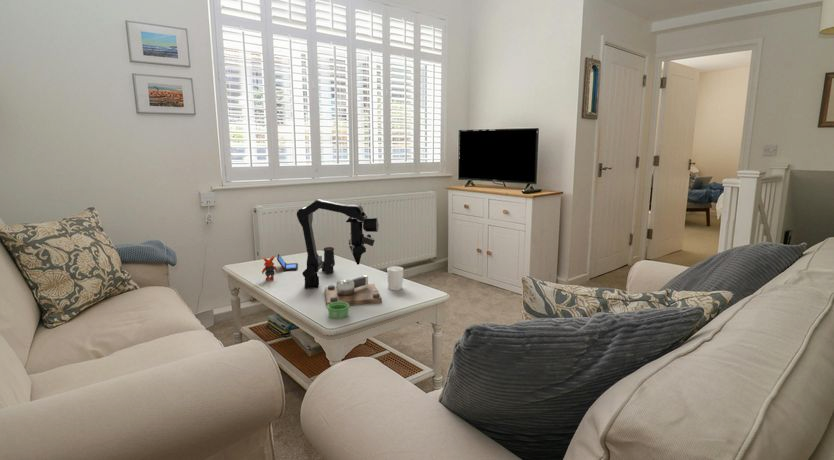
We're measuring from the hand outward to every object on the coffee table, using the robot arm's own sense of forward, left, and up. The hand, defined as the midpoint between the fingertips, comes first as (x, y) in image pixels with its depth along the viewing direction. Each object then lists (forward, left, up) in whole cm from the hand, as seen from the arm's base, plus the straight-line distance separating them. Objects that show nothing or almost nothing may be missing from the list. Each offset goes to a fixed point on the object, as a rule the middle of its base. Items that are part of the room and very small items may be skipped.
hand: (357, 262), depth 219 cm
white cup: (+18, -4, -13) cm, 23 cm away
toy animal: (-43, +25, -13) cm, 51 cm away
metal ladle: (-3, -9, -10) cm, 15 cm away
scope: (-12, +30, -13) cm, 35 cm away
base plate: (-4, -12, -13) cm, 18 cm away
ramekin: (-12, -32, -13) cm, 37 cm away
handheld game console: (-34, +44, -14) cm, 57 cm away
